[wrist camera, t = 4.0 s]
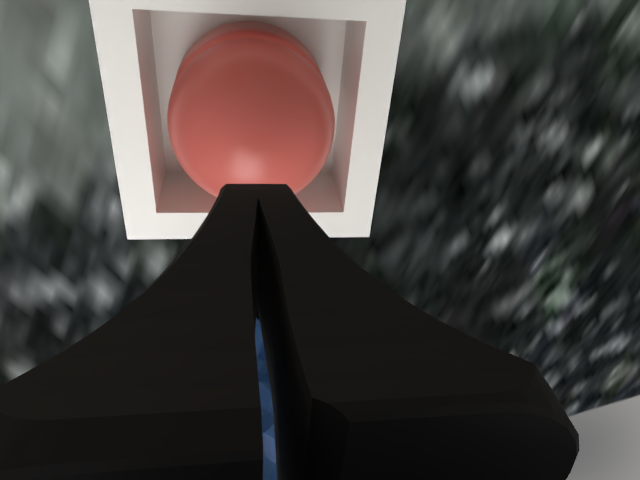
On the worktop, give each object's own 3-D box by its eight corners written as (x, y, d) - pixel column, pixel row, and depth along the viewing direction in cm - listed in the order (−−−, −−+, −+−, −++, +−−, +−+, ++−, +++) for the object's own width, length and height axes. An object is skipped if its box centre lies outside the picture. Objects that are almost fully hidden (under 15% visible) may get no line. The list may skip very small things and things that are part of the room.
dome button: (317, 161, 19) (338, 237, 15) (181, 160, 18) (166, 238, 14) (329, 22, 16) (358, 69, 12) (169, 13, 16) (146, 61, 12)
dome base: (353, 193, 21) (369, 236, 18) (141, 192, 19) (127, 239, 17) (382, -35, 16) (408, -18, 14) (107, -54, 15) (82, -39, 12)
